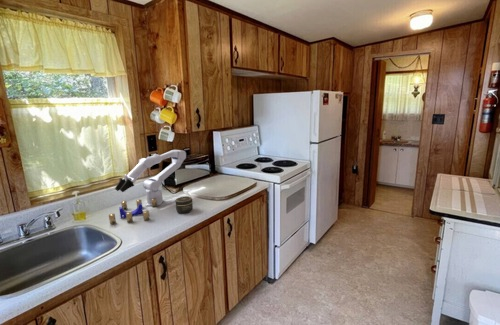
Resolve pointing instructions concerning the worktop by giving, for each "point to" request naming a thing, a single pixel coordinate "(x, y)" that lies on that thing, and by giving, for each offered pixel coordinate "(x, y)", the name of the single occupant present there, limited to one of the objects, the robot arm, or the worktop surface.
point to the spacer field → (129, 214)
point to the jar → (184, 205)
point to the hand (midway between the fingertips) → (118, 190)
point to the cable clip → (138, 211)
